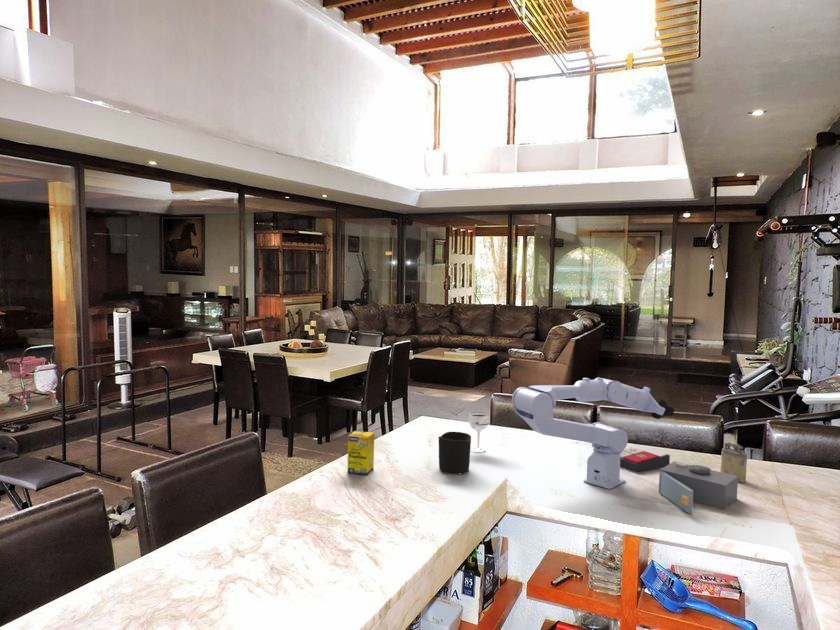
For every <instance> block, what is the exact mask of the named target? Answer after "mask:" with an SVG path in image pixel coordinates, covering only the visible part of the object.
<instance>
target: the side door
mask: <svg viewBox="0 0 840 630" xmlns="http://www.w3.org/2000/svg"><path fill="white" fill-rule="evenodd" d="M658 482H659V483H658V493H659V494H661V495H662V496H663V497H665V498H666V499H668V500H669V501H670V502H672V503H673V504H675V505H676V506H678V507H679V508H680V509H682V510H683V511H684V512H686V513H688V514H693V511H694V510H693V508H694V501H693V490H692V489H690V488H688V487H687V486H685V485H684V484H682V483H681V482H679V481H677V480H676V479H674V478H673V477H671V476H670V475H668V474H666V473H665V472H663V471H660V470H659V481H658Z"/></svg>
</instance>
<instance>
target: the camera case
mask: <svg viewBox="0 0 840 630" xmlns="http://www.w3.org/2000/svg"><path fill="white" fill-rule="evenodd" d="M660 471H663V472H665V473H666V474H668V475H670V476H671V477H673V478H674V479H676V480H677V481H679V482H681V483H682V484H684V485H685V486H687V487H688V488H690V489H692V490H693V502H697V503H700V504H703V505H707V506H710V507H714V508H718V509H721V508H722V509H721V510H726V509H727V508H728V507H729V506H730V505H732V504H733V503H734V502H735V501H736V500H737V499H738V487H739V486H738V485H739V484H738V483H739V482H738V476H736V475H731V474H727V473H722V472H720V471H718V470H717V471H716V470H713V469H711V468H710V467H707V466H705V465H699V464H686V463H684V462H683V463H681V462H678V461H671V463H670V464H669V465H667V466H665V467H662V468H659V472H660ZM725 508H726V509H725Z"/></svg>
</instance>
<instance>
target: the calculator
mask: <svg viewBox="0 0 840 630" xmlns="http://www.w3.org/2000/svg"><path fill="white" fill-rule="evenodd" d="M670 458H671V456H670V454H668V453H666V452H663V451H660V450H657V449H653V448H650V447H646V446H643V445H638V446H637V445H636V446H632V447H628V448H627V447H626V448H625V449H624V450H623V452H621V456H620V468H622V469H625V470H627V471H630V472H633V473H635V474H638V473H643V472H648V471H652V469H653V470H655V469H660V467H662V468H663V467H665V466H667V465H669V464H671V463H670V461H671V459H670Z"/></svg>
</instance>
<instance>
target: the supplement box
mask: <svg viewBox="0 0 840 630" xmlns="http://www.w3.org/2000/svg"><path fill="white" fill-rule="evenodd" d="M347 439H348V440H347V474H350V475H351V474H354V475H363V476H368V475H369V474H370V473H371V472H372V471H373V470H374V465H375V463H374V462H375V461H374V459H375V432H370V431H369V432H368V431H360V430H354V431H353V432H352V433H350V434H348V436H347Z"/></svg>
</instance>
